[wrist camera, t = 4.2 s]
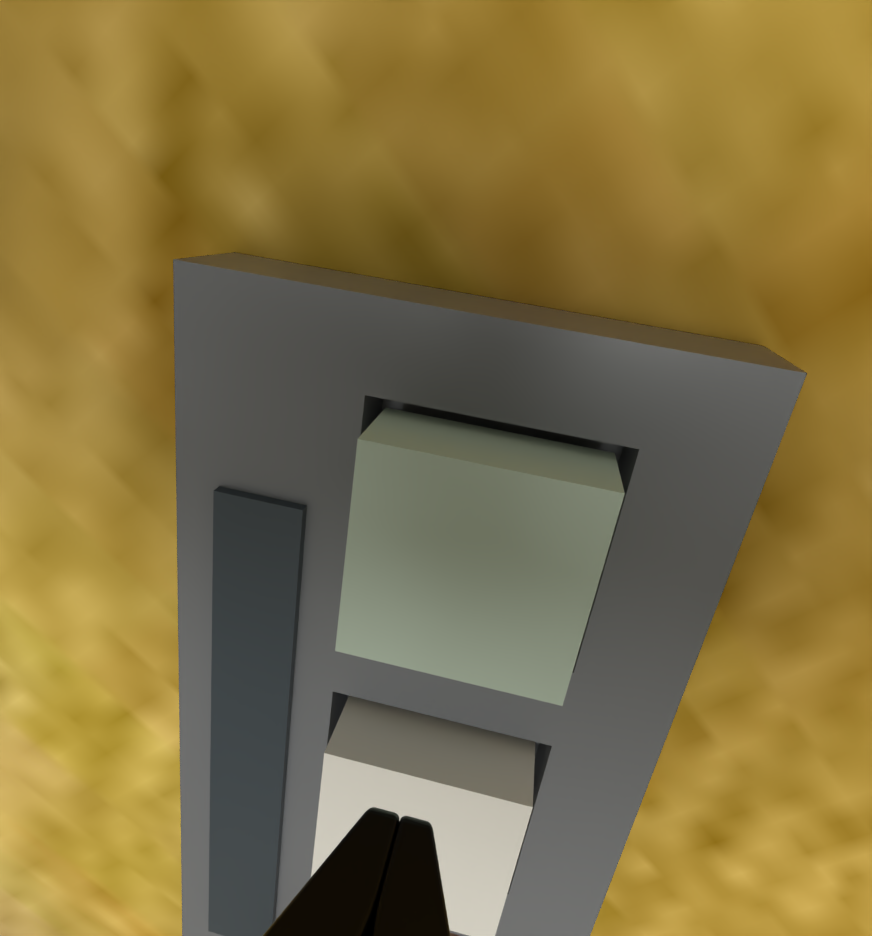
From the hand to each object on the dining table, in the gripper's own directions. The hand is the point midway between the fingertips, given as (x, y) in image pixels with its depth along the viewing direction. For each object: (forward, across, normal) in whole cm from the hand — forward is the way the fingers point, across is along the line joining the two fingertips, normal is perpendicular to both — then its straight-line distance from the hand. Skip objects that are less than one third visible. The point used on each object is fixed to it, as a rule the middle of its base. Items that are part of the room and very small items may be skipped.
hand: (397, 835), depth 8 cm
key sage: (+9, 0, 0) cm, 9 cm away
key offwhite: (+9, 0, +9) cm, 13 cm away
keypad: (+11, +1, +9) cm, 15 cm away
